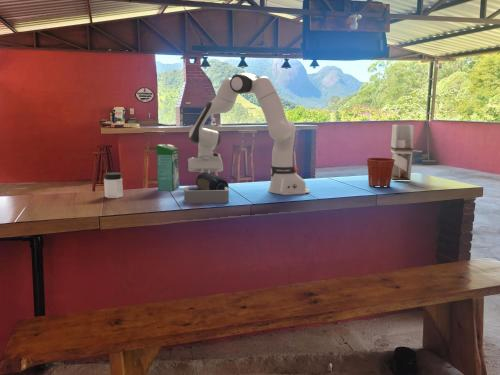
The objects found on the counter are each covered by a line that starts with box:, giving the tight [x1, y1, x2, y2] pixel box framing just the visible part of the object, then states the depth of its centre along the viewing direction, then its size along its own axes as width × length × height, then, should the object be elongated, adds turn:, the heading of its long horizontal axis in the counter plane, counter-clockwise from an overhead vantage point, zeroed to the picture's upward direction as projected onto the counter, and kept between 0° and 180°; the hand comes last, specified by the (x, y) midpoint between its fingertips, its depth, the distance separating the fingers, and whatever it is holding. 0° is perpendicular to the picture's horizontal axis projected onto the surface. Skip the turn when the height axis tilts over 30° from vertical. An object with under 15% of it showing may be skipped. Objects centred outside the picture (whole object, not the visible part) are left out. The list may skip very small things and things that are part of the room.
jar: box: [103, 171, 124, 199], centre depth 217 cm, size 9×8×12 cm
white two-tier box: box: [390, 124, 415, 181], centre depth 270 cm, size 11×11×35 cm
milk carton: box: [156, 143, 180, 192], centre depth 237 cm, size 9×9×25 cm
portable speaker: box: [195, 172, 229, 190], centre depth 229 cm, size 25×10×10 cm, turn 31°
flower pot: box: [365, 157, 395, 187], centre depth 252 cm, size 16×16×16 cm
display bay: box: [183, 186, 230, 204], centre depth 209 cm, size 21×10×6 cm, turn 96°
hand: (205, 176), depth 244 cm, fingers closed
